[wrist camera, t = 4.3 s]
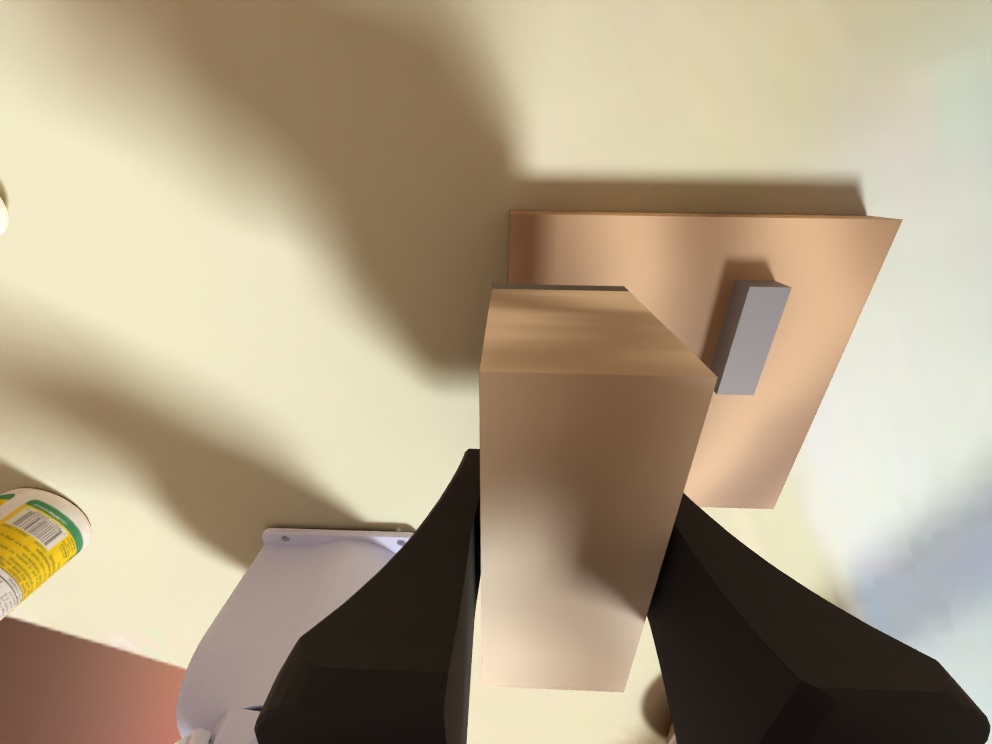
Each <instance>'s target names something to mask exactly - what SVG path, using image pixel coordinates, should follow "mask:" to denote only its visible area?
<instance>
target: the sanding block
mask: <svg viewBox="0 0 992 744" xmlns="http://www.w3.org/2000/svg"><path fill="white" fill-rule="evenodd" d="M717 378H718V377H717V376H716V375H715V374H714V373H713V372H712V371H711V370H710V369H709V368H708V367H707V366H706V365H705V364H704V363H703V362H702V361H701V360H700V359H699V358H698V357H697V356H695V355H694V354H693V353H692V352H691V351H690V350H689V349H688V348H687V347H686V346H685V345H684V344H683V343H682V342H681V341H680V340H679V339H678V338H677V337H676V336H675V335H674V334H673V333H672V332H671V331H670V330H669V329H668V328H667V327H666V326H665V325H664V324H663V323H662V322H660V321H659V320H658V319H657V318H656V317H655V316H654V315H653V314H652V313H651V312H650V311H649V310H648V309H647V308H646V307H645V306H644V305H643V304H642V303H641V302H640V301H639V300H638V299H637V298H636V297H635V296H634V295H633V294H632V293H631V292H630V291H629V290H628V289H626V288H625V287H624V286H588V285H535V284H492V290H491V297H490V304H489V310H488V317H487V323H486V330H485V337H484V343H483V350H482V356H481V363H480V370H479V405H480V521H481V638H482V686H486V687H510V688H535V689H560V690H584V691H609V692H624V689H625V686H626V683H627V679H628V676H629V673H630V669H631V666H632V663H633V659H634V656H635V653H636V649H637V646H638V643H639V639H640V636H641V633H642V629H643V626H644V623H645V619H646V616H647V612H648V609H649V606H650V602H651V599H652V596H653V592H654V589H655V586H656V582H657V579H658V576H659V572H660V569H661V566H662V562H663V559H664V556H665V552H666V549H667V546H668V542H669V539H670V535H671V532H672V529H673V525H674V522H675V519H676V515H677V512H678V509H679V505H680V502H681V499H682V495H683V492H684V489H685V485H686V482H687V479H688V475H689V472H690V469H691V465H692V462H693V458H694V455H695V452H696V448H697V445H698V442H699V438H700V435H701V432H702V428H703V425H704V422H705V418H706V415H707V412H708V408H709V405H710V402H711V398H712V395H713V392H714V388H715V385H716V382H717Z"/></svg>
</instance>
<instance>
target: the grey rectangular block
mask: <svg viewBox="0 0 992 744" xmlns="http://www.w3.org/2000/svg"><path fill="white" fill-rule="evenodd" d="M791 288H792V287H789V286H787V285H784V284H782V283H779V282H777V281H759V280H735V284H734V287H733V291H732V294H731V298H730V301H729V305H728V308H727V312H726V315H725V319H724V322H723V326H722V329H721V333H720V336H719V340H718V343H717V347H716V350H715V354H714V357H713V361H712V364H711V368H710V370H711V371H712V372H713V373H714V374H715V375H716V376H717V377H718V378H717V382H716V385H715V388H714V392H715V393H716V394H719V395H754V393H755V390H756V387H757V384H758V382H759V379H760V376H761V373H762V370H763V368H764V365H765V362H766V359H767V356H768V353H769V351H770V348H771V345H772V342H773V339H774V336H775V334H776V331H777V328H778V325H779V322H780V319H781V317H782V314H783V311H784V308H785V305H786V302H787V300H788V297H789V294H790V291H791Z"/></svg>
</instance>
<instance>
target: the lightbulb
mask: <svg viewBox="0 0 992 744" xmlns="http://www.w3.org/2000/svg"><path fill="white" fill-rule="evenodd" d="M8 223H9V214H8V211H7V208H6V206H5V204H4V202H3V200H2V199H1V197H0V235H2V234H3V233H4V232H5V230H6V228H7V226H8Z"/></svg>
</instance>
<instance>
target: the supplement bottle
mask: <svg viewBox="0 0 992 744" xmlns="http://www.w3.org/2000/svg"><path fill="white" fill-rule="evenodd" d="M90 539H91V526H90V523H89V521H88V520H87V518H86V516H85V515H84V514H83V513H82V512H81V511H80V510H79V509H78V508H77V507H76V506H74V505H73V504H72V503H70V502H69V501H67V500H65V499H64V498H62V497H60V496H58V495H55V494H53V493H50V492H47V491H43V490H39V489H32V488H19V489H14V490H9V491H7V492H4V493H2V494H0V621H1V620H2V619H3V618H4V617H5V616H6V615H7V614H9V613H10V612H11V611H12V610H13V609H14V608H15V607H17V606H18V605H19V604H20V603H21V602H22V601H24V600H25V599H26V598H27V597H28V596H29V595H30V594H32V593H33V592H34V591H35V590H36V589H37V588H38V587H40V586H41V585H42V584H43V583H44V582H45V581H47V580H48V579H49V578H50V577H51V576H52V575H53V574H54V573H56V572H57V571H58V570H59V569H60V568H61V567H63V566H64V565H65V564H66V563H67V562H68V561H69V560H71V559H72V558H73V557H74V556H75V555H76V554H77V553H79V552H80V551H81V550H82V549H83V548H84V547H85V546H86V545H87V544H88V543H89V541H90Z"/></svg>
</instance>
